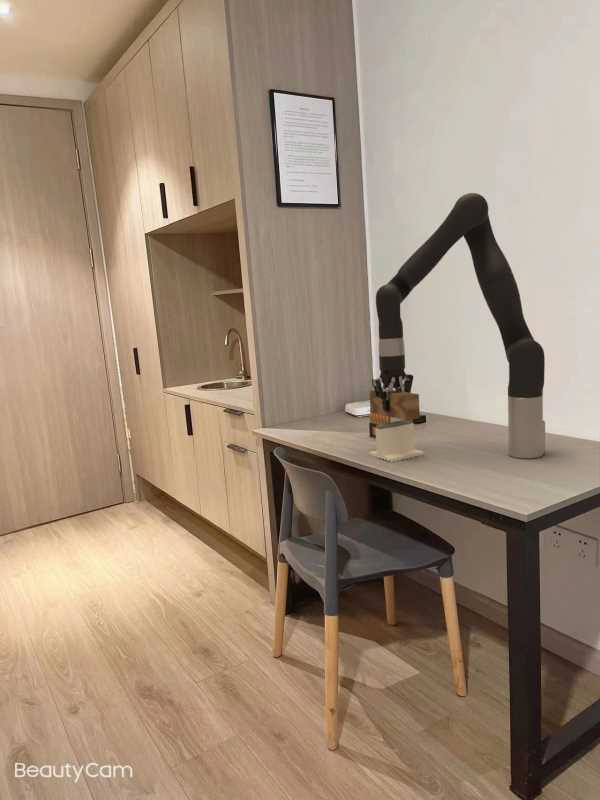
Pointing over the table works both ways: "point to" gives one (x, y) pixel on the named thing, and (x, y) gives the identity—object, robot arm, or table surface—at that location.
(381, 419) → the ammunition clip
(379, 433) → the ridge stand
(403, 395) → the walnut beam
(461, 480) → the table surface
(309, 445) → the table surface
